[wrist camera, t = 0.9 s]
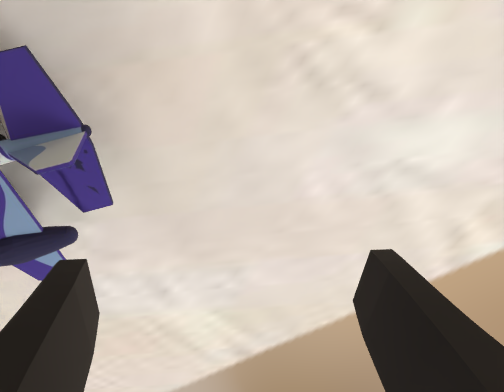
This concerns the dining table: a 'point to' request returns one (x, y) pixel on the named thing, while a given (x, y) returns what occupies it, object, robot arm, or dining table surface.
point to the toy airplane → (42, 162)
